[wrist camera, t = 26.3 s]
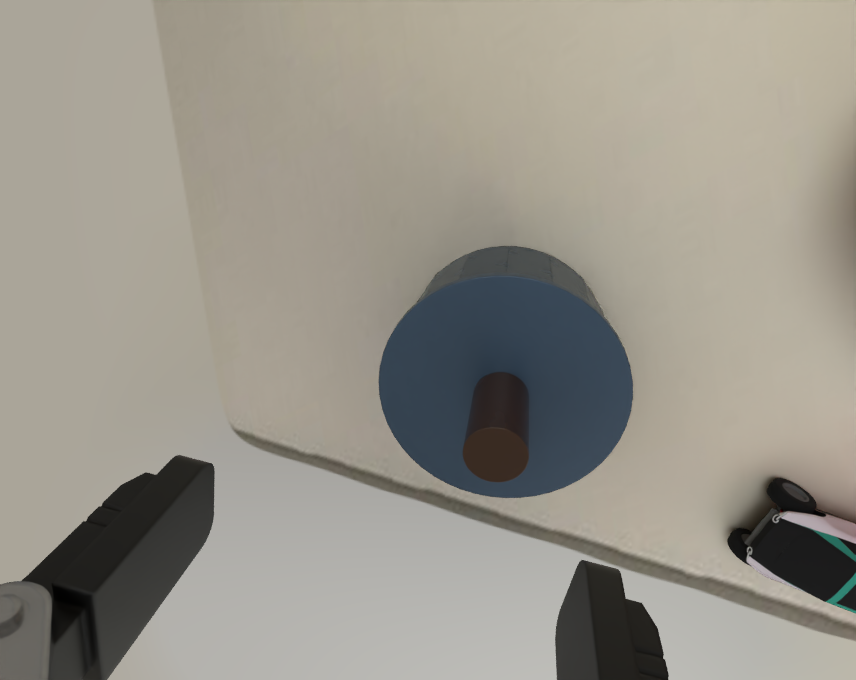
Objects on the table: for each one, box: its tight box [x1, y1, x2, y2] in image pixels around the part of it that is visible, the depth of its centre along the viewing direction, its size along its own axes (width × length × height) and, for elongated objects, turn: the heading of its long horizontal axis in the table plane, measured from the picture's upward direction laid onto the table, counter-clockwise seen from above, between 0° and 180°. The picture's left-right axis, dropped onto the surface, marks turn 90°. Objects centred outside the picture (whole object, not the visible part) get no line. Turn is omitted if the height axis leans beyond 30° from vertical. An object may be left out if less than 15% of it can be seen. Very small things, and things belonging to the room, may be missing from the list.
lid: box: [379, 272, 633, 498], centre depth 29 cm, size 14×14×7 cm
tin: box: [417, 246, 604, 316], centre depth 35 cm, size 13×13×8 cm
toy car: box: [728, 478, 856, 613], centre depth 38 cm, size 6×12×5 cm, turn 71°
